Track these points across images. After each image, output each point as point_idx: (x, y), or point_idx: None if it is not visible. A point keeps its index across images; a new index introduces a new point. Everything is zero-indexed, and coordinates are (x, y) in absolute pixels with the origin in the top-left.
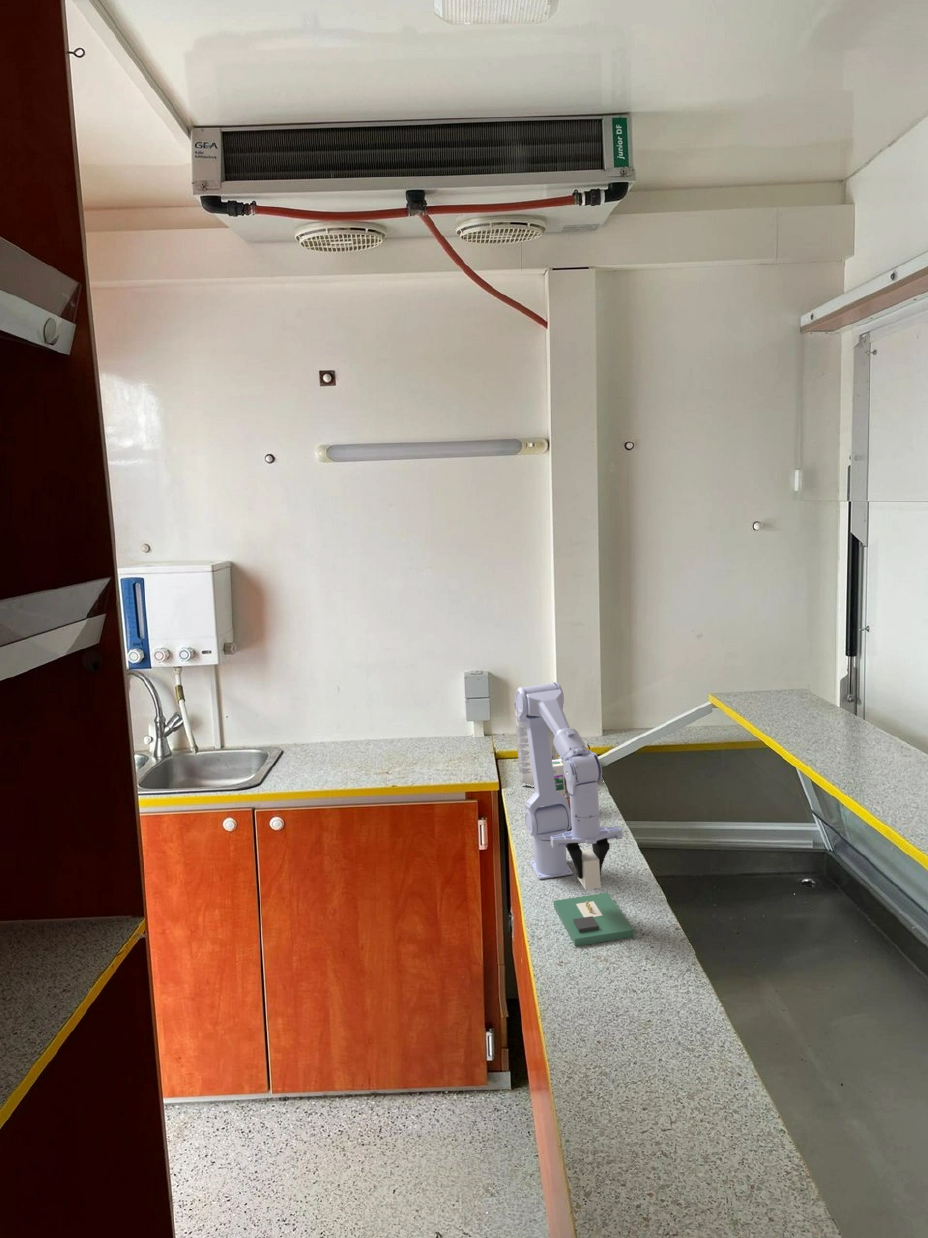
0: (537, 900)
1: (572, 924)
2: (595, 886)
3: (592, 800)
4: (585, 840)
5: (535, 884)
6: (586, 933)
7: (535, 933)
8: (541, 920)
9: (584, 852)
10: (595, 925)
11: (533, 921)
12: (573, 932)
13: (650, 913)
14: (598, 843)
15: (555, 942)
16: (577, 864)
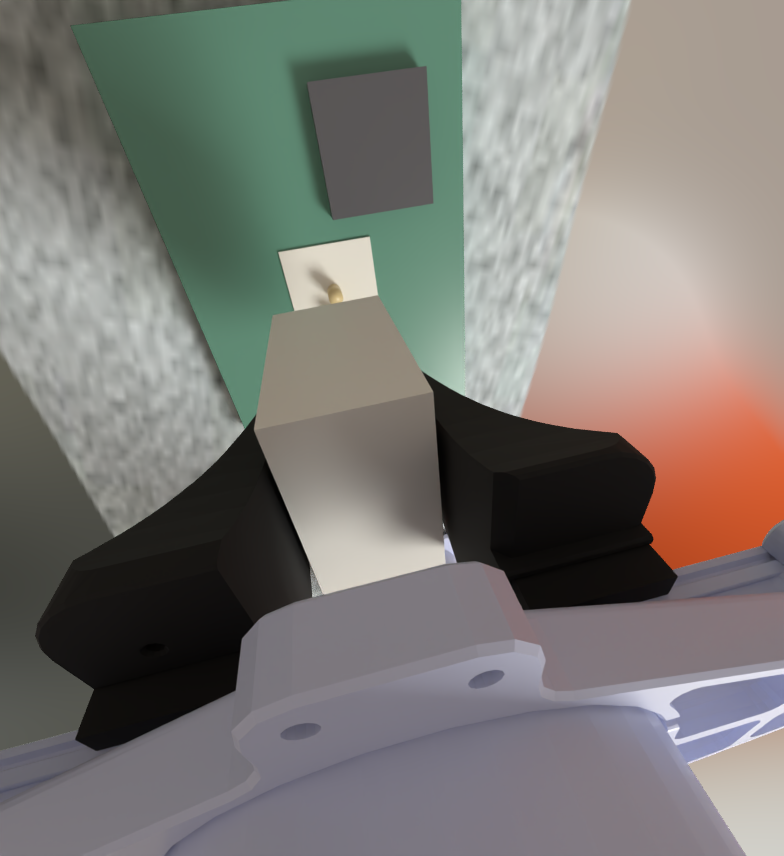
0: None
1: (436, 185)
2: (309, 311)
3: None
4: (540, 672)
5: None
6: (382, 48)
7: (578, 196)
8: (522, 302)
9: (387, 553)
10: (325, 94)
11: (551, 298)
12: (450, 81)
13: (42, 306)
14: (235, 643)
15: (527, 80)
16: (472, 407)
